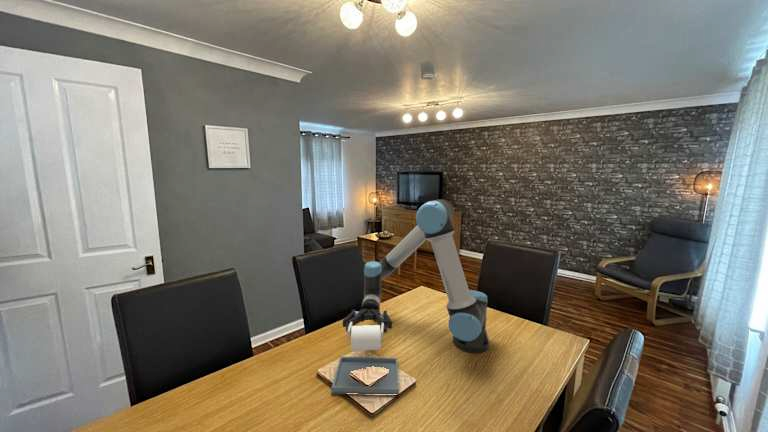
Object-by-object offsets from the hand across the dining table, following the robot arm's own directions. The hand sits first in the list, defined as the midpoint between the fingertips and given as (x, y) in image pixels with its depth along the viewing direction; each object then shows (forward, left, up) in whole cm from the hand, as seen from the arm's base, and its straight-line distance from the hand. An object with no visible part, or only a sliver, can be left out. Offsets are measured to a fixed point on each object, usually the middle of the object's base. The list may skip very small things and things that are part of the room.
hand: (365, 335), depth 102 cm
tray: (-1, -3, -18) cm, 18 cm away
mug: (0, -4, -6) cm, 7 cm away
